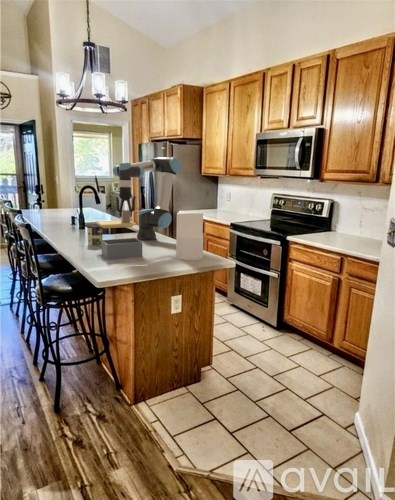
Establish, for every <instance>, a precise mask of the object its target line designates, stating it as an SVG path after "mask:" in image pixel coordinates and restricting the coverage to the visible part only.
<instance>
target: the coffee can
mask: <svg viewBox="0 0 395 500" xmlns="http://www.w3.org/2000/svg"><path fill="white" fill-rule="evenodd" d="M86 227H87V228H86V230H87V246H88V247H102V246H101V240H104V239H103V227H101V226H100V225H98V224H87V226H86Z"/></svg>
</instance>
